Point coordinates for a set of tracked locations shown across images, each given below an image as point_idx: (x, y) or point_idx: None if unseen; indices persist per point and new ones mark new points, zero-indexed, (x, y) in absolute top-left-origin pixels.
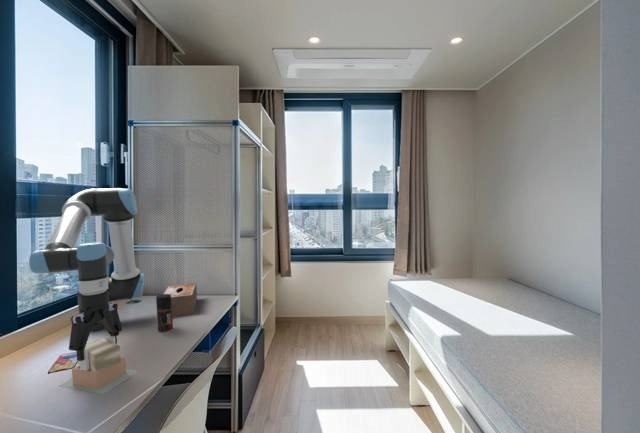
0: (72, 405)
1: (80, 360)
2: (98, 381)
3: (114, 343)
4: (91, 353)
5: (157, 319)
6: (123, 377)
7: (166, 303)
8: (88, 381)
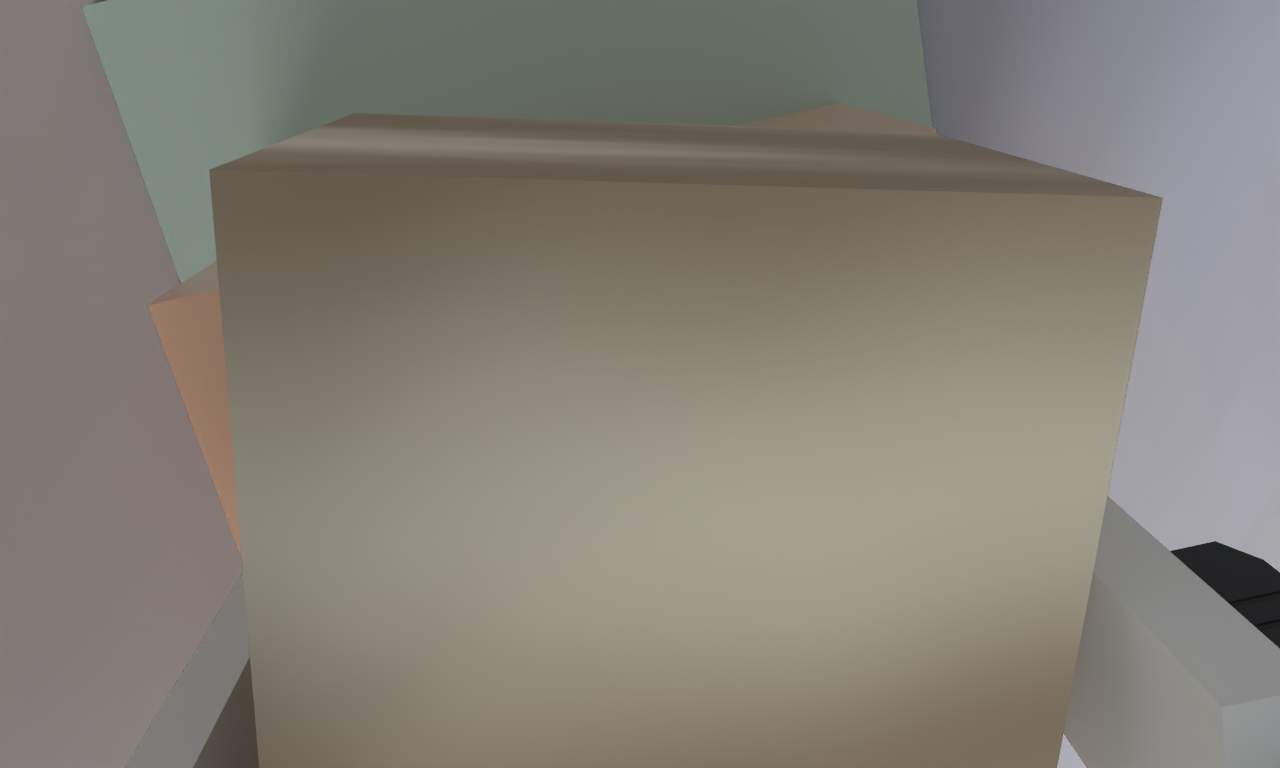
0: (1250, 17)
1: (1240, 559)
2: (841, 120)
3: (158, 766)
4: (1105, 478)
5: None
6: (390, 66)
7: None
8: None
